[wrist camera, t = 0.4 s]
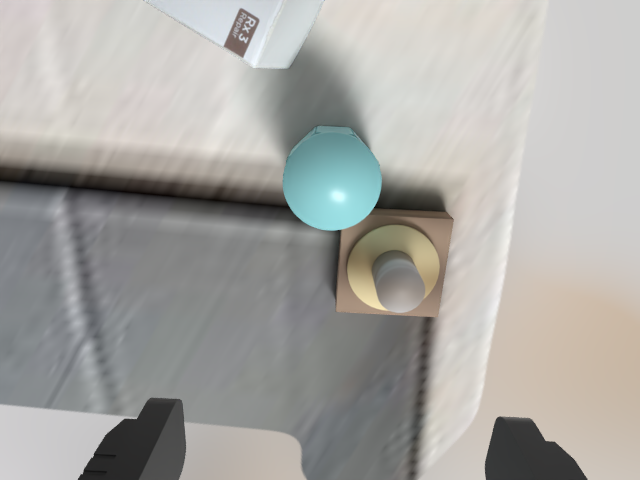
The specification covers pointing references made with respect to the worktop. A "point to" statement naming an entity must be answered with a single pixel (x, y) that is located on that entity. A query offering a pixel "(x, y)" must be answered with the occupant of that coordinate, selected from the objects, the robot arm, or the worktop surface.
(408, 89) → the worktop surface
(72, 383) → the worktop surface
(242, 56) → the skincare box
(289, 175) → the cap
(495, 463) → the robot arm
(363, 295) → the board
